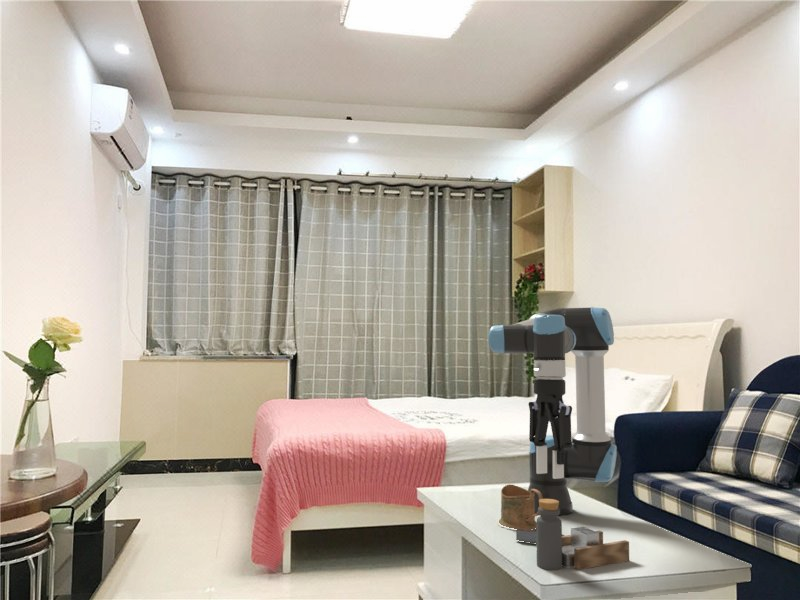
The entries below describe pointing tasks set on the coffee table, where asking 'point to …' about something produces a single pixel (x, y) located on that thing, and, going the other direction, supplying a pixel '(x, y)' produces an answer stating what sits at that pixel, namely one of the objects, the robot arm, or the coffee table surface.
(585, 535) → the grey stepped block
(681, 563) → the coffee table surface
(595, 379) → the robot arm
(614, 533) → the coffee table surface
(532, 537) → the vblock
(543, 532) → the bottle
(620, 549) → the parallel wooden rails
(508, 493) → the mug
